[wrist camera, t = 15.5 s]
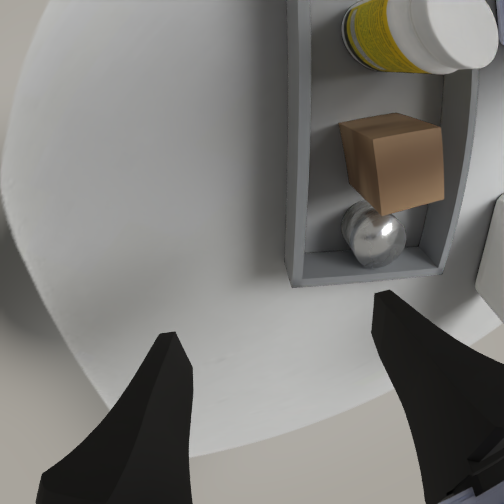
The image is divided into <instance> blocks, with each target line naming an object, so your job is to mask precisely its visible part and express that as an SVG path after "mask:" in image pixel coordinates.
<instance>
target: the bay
mask: <svg viewBox="0 0 504 504" xmlns="http://www.w3.org/2000/svg"><path fill="white" fill-rule="evenodd" d="M286 3H287V52H288V140H287V195H286V229H285V257H284V262H285V266H286V269H287V273H288V276H289V280H290V283H291V287H292V288H296V287H311V286H324V285H337V284H349V283H361V282H372V281H383V280H393V279H404V278H413V277H423V276H432V275H441V274H443V271H444V267H445V264H446V261H447V258H448V255H449V251H450V248H451V244H452V241H453V237H454V233H455V230H456V226H457V222H458V218H459V214H460V210H461V205H462V201H463V196H464V192H465V187H466V182H467V176H468V171H469V165H470V159H471V153H472V146H473V139H474V131H475V122H476V111H477V99H478V81H479V69H458V70H457V71H455V72H452V73H449V74H444V82H443V100H442V113H441V124H440V127H441V133H442V146H443V164H444V199H443V200H439V201H435V202H432V203H429V204H428V209H427V214H426V219H425V223H424V228H423V232H422V236H421V241H420V245H419V247H404V249H403V251H402V252H401V254H400V255H399V256H398V258H397V259H396V260H394V261H393V262H392V263H390V264H389V265H387V266H384V267H381V268H368V267H365V266H364V265H362V264H361V263H360V262H359V261H358V259H357V258H356V256H355V255H354V253H353V252H352V250H349V251H331V252H312V253H304V249H305V235H306V219H307V202H308V183H309V160H310V129H311V10H310V0H286Z"/></svg>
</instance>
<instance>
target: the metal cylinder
mask: <svg viewBox="0 0 504 504" xmlns="http://www.w3.org/2000/svg"><path fill="white" fill-rule="evenodd" d="M341 232H342V235H343V237H344V239H345V241H346V242H347V244H348V245H349V247H350V248H351V250H352V252H353V253H354V255H355V256H356V258H357V259H358V261H359V262H360V263H361V264H362V265H364V266H365V267H368V268H381V267H384V266H387V265H389V264H390V263H392V262H393V261H394V260H396V259H397V258H398V256H399V255H400V254H401V252H402V251H403V249H404V246H405V243H406V231H405V228H404V226H403V225H402V223H401V222H400V221H399V220H398V219H397V218H396V217H395V216H394V215H393V214H388V215H384V216H381V215H380V214H379V213H378V212H377V211H376V210H375V209H374V208H373V207H372V206H371V205H370V204H369V203H368V202H367V201H366V200H363V201H360V202H357V203H356V204H354V205H353V206H351V207H350V208H349V209H348V210H347V212H346V213H345V215H344V217H343V219H342V223H341Z"/></svg>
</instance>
